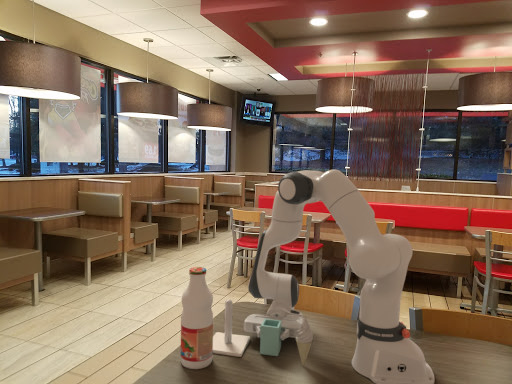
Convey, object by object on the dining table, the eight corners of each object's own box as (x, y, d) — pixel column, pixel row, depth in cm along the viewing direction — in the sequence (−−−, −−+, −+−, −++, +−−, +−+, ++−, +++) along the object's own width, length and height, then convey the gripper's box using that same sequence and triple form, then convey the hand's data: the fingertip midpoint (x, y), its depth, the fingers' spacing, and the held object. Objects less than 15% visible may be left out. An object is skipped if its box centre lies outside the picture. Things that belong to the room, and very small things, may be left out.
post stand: (250, 339, 126) (251, 295, 125) (240, 356, 115) (242, 308, 114) (216, 334, 129) (217, 291, 128) (203, 351, 117) (204, 304, 116)
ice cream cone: (311, 371, 108) (313, 320, 106) (293, 369, 109) (295, 318, 107) (312, 362, 113) (314, 313, 111) (295, 360, 114) (297, 312, 112)
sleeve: (280, 347, 121) (281, 320, 120) (277, 356, 115) (278, 327, 115) (263, 345, 122) (264, 318, 121) (260, 353, 117) (260, 325, 116)
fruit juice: (213, 369, 108) (214, 273, 106) (179, 371, 106) (180, 274, 104) (211, 352, 117) (213, 264, 115) (181, 354, 116) (181, 264, 113)
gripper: (249, 306, 133) (238, 322, 120) (307, 313, 129) (303, 330, 115) (248, 324, 134) (238, 342, 120) (306, 331, 129) (302, 350, 116)
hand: (270, 336), depth 118 cm, fingers closed on sleeve, 6 cm apart
